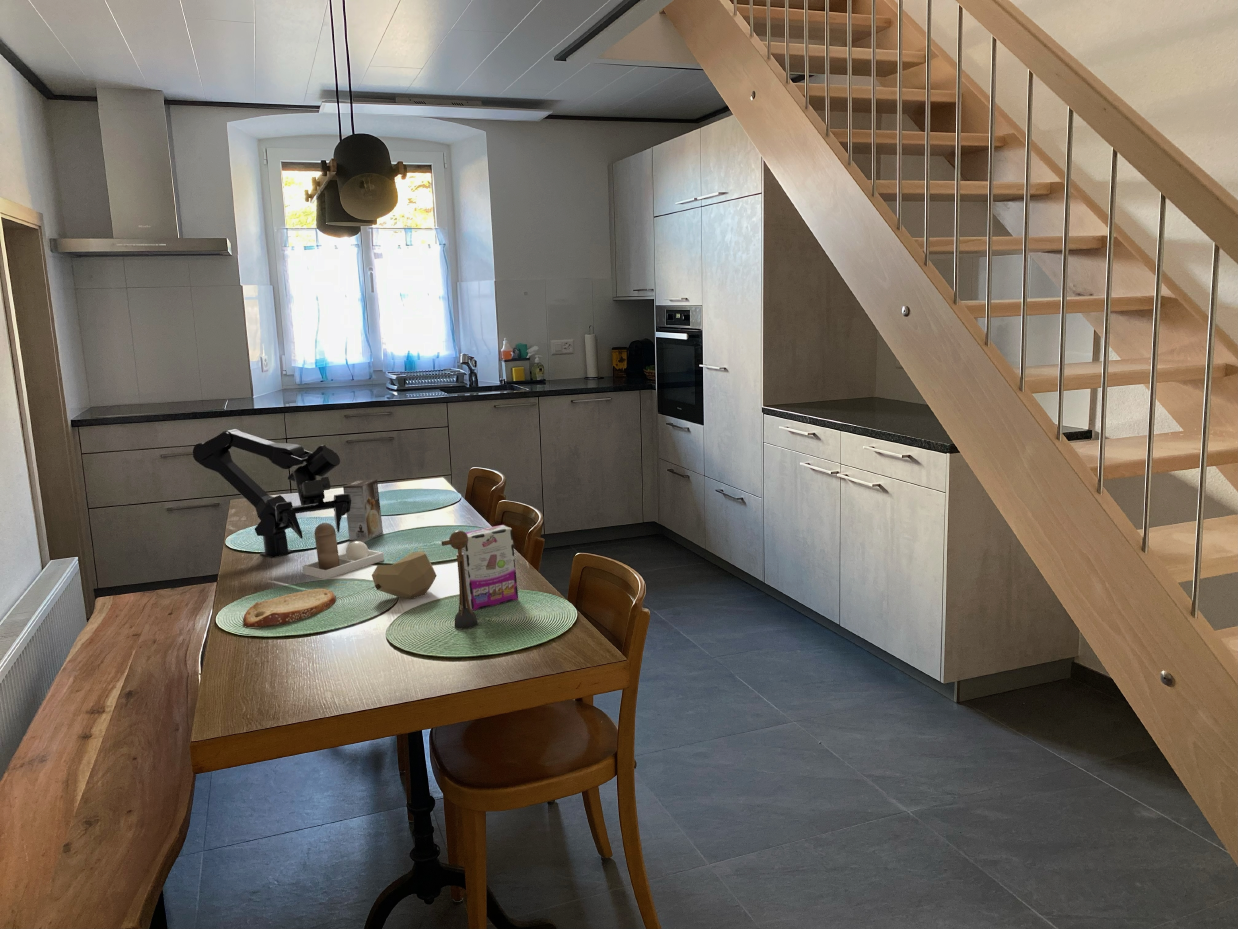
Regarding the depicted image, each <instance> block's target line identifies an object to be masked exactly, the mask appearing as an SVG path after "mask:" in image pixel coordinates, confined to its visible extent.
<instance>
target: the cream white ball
mask: <svg viewBox="0 0 1238 929" xmlns="http://www.w3.org/2000/svg"><path fill="white" fill-rule="evenodd" d="M368 550H369V548H368V545H367V544H365V542H364V541H360V540H353V541H352V542H351V543H349V544H348V545H347V546H346V550H345V553H346V556H347V558H348V559H349V560H352V561H356V560H359V559H362V558H365V557H367V556H368Z"/></svg>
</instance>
